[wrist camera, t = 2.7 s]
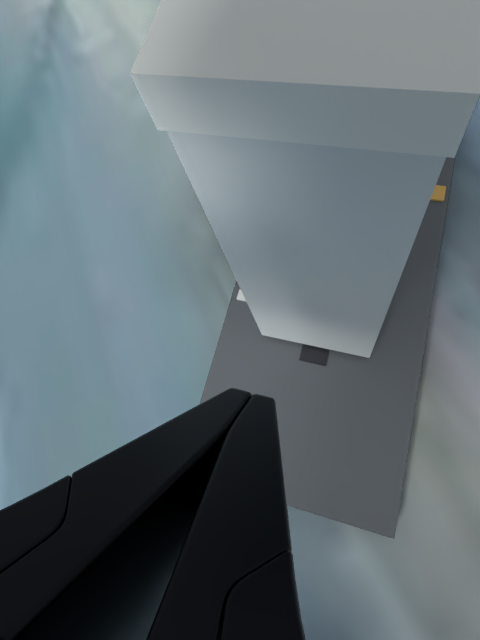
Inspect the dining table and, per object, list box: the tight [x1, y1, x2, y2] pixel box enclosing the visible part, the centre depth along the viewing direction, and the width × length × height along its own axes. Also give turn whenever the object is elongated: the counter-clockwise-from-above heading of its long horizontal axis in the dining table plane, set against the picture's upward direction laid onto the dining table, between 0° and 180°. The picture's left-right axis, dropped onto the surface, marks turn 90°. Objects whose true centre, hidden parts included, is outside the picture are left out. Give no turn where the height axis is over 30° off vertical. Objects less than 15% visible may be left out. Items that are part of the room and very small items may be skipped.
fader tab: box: [130, 0, 480, 358], centre depth 13 cm, size 4×5×14 cm
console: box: [200, 157, 455, 539], centre depth 21 cm, size 21×9×1 cm, turn 164°
